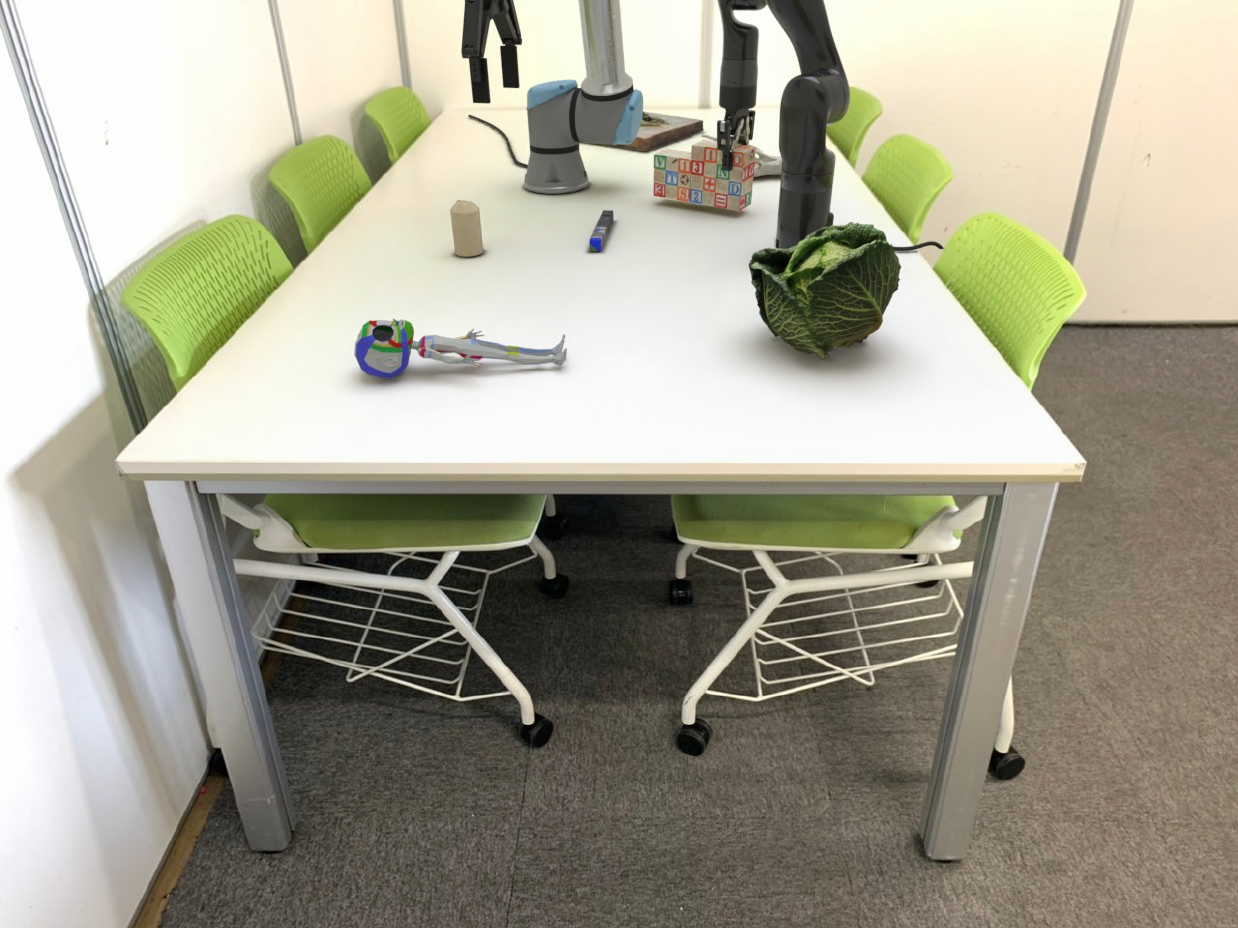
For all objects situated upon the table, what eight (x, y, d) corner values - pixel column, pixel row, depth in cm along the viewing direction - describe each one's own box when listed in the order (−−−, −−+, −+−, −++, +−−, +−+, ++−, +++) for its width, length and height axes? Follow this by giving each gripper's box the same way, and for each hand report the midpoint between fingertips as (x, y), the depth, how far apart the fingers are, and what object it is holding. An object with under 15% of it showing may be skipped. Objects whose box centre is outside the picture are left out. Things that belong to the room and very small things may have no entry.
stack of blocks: (652, 197, 200) (653, 139, 193) (665, 190, 204) (667, 134, 198) (740, 211, 190) (744, 151, 184) (752, 204, 195) (756, 145, 188)
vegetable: (778, 371, 145) (721, 264, 137) (874, 304, 146) (823, 195, 138) (839, 398, 127) (777, 277, 119) (948, 321, 128) (894, 197, 120)
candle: (488, 249, 176) (483, 198, 171) (475, 258, 172) (470, 206, 167) (463, 246, 178) (457, 196, 173) (450, 255, 174) (443, 204, 168)
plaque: (647, 125, 237) (559, 112, 252) (647, 153, 241) (560, 139, 256) (706, 107, 258) (622, 97, 273) (705, 133, 262) (622, 121, 277)
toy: (569, 347, 126) (349, 329, 122) (563, 400, 131) (350, 385, 126) (565, 318, 135) (359, 301, 130) (559, 369, 139) (360, 354, 134)
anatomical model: (702, 130, 224) (803, 129, 220) (702, 168, 229) (801, 167, 225) (697, 145, 212) (805, 144, 208) (697, 184, 216) (802, 184, 213)
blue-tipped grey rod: (613, 210, 190) (600, 241, 173) (613, 220, 191) (600, 251, 174) (603, 210, 190) (589, 240, 173) (603, 220, 191) (589, 251, 174)
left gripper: (477, -50, 125) (491, 110, 137) (534, -58, 146) (542, 82, 157) (427, -49, 127) (445, 109, 138) (491, -57, 147) (502, 81, 159)
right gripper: (740, 89, 174) (735, 177, 183) (769, 78, 184) (763, 161, 193) (705, 86, 177) (702, 172, 186) (736, 75, 188) (732, 157, 197)
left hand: (497, 95), depth 148 cm, fingers open, 13 cm apart
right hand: (734, 166), depth 190 cm, fingers closed on stack of blocks, 6 cm apart
